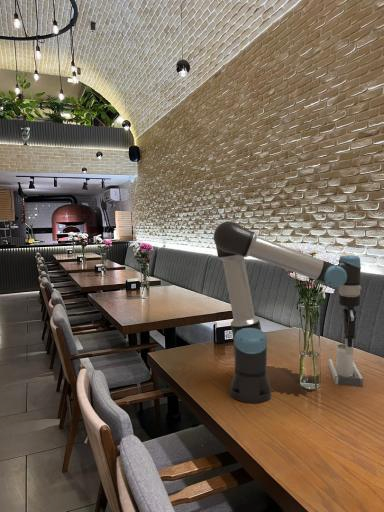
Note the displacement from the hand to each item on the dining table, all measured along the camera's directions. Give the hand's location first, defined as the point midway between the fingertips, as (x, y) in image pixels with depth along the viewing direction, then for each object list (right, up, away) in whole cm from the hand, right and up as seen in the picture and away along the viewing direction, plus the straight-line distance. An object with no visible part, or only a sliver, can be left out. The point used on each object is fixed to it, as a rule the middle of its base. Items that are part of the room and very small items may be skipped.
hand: (349, 353), depth 150 cm
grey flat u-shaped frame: (+1, -11, +7) cm, 13 cm away
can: (+1, -11, +8) cm, 14 cm away
